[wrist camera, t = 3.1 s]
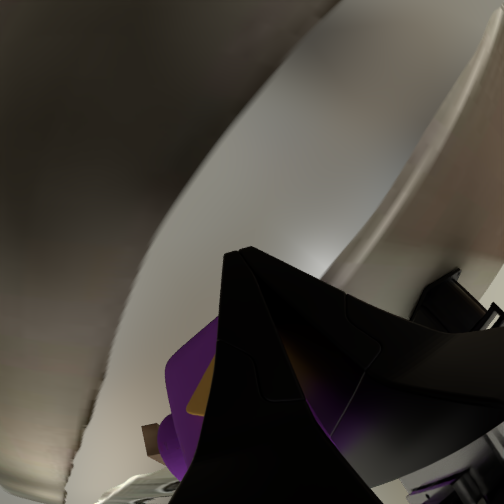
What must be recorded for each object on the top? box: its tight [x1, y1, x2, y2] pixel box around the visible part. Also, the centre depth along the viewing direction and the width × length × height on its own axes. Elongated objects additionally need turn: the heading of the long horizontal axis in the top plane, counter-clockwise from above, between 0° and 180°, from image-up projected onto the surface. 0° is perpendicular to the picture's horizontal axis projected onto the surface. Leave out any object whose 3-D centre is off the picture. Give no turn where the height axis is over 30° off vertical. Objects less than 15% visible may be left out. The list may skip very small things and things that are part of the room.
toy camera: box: [157, 316, 338, 481], centre depth 14 cm, size 11×14×10 cm
